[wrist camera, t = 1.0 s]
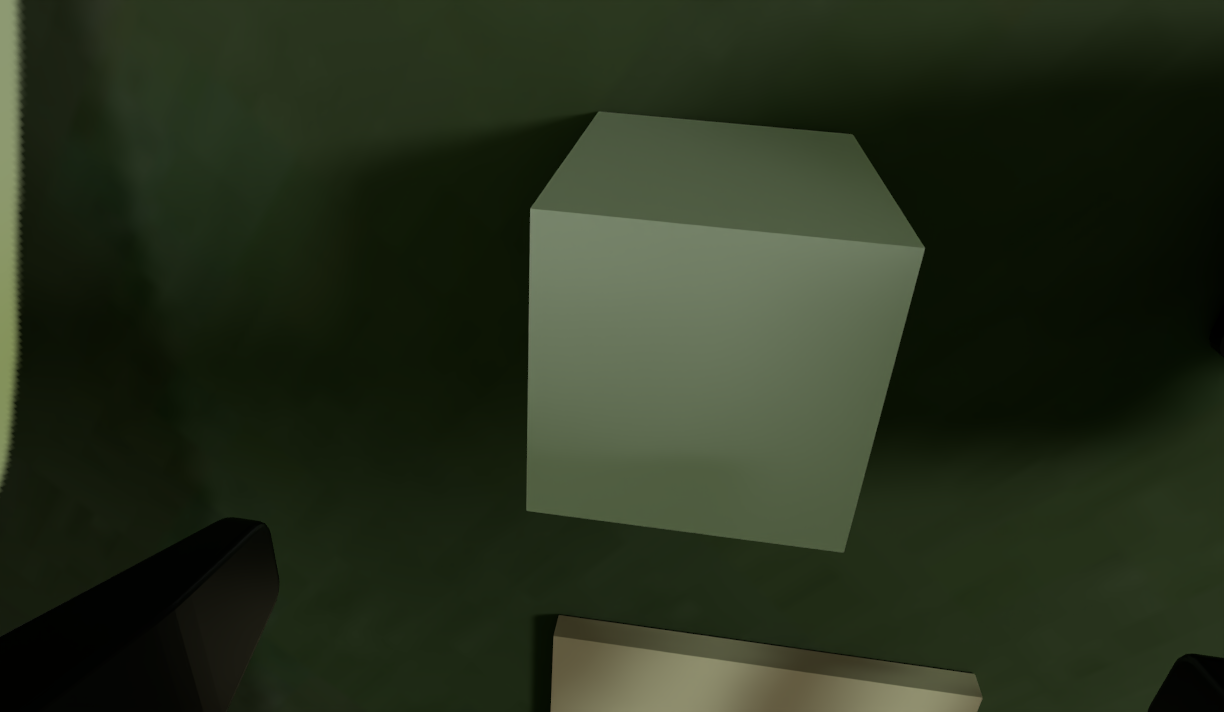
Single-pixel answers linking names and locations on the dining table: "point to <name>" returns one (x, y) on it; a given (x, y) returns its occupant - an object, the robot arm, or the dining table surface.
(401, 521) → the dining table surface
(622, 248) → the pale grey block
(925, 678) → the peg on square board
